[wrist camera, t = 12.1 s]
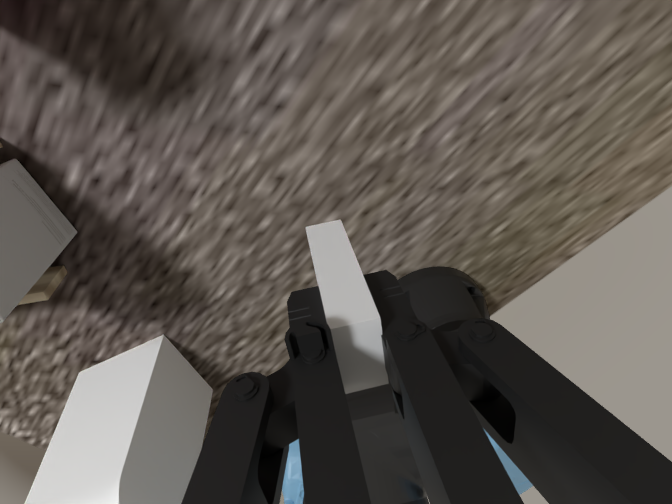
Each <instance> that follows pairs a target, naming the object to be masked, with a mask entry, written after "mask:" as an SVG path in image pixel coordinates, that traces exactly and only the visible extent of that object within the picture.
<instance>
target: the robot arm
mask: <svg viewBox="0 0 672 504" xmlns="http://www.w3.org/2000/svg"><path fill="white" fill-rule="evenodd" d="M306 232H307V236H308V241H309V246H310V250H311V255H312V260H313V264H314V269H315V273H316V278H317V283H318V286H316V287H312V288H307V289H303V290H298V291H294V292H292V293H291V295H290V297H289V299H288V301H287V305H288V315H289V325H290V328H289V330H288V331H287V332H286V335H285V343H286V346H287V350H288V353H289V356H290V359H289V361H288V362H287V363H286V365H284V366H283V367H282V368H281V369H280V370H278V371H276V372H275V373H273V374H271V375H269V376H267V377H266V376H264V375H262V374H261V373H256V372H249V373H244V374H241V375H239V376H237V377H235V378H234V379H233V380H231V381H230V382H229V383H228V384H227V386H226V387H225V389H224V391H223V393H222V395H221V398H220V401H219V403H218V406H217V409H216V411H215V414H214V417H213V420H212V422H211V425H210V428H209V430H208V433H207V436H206V438H205V441H204V444H203V446H202V449H201V452H200V455H199V457H198V460H197V463H196V465H195V468H194V471H193V473H192V476H191V479H190V481H189V484H188V487H187V489H186V492H185V495H184V498H183V500H182V503H181V504H279V502H280V497H281V491H282V492H283V496H284V504H429V502H430V504H524V503H523V501H522V499H521V497H520V496H519V495H520V494H522V493H523V492H525V491H526V490H528V489H529V488H531V487H532V486H534V487H535V488H536V489H537V490H538V491H539V492H540V494H541V495H542V496H543V497H544V498H545V499H546V501H547V502H548V503H549V504H672V462H671V461H670V460H668V459H667V458H666V457H665V456H664V455H662V454H661V453H660V452H659V451H657V450H656V449H655V448H654V447H652V446H651V445H650V444H649V443H647V442H646V441H645V440H644V439H642V438H641V437H640V436H638V435H637V434H636V433H635V432H634V431H632V430H631V429H630V428H629V427H627V426H626V425H625V424H624V423H622V422H621V421H620V420H619V419H617V418H616V417H615V416H614V415H613V414H611V413H610V412H609V411H608V410H606V409H605V408H604V407H603V406H601V405H600V404H599V403H597V402H596V401H595V400H594V399H593V398H591V397H590V396H589V395H587V394H586V393H585V392H584V391H583V390H581V389H580V388H579V387H578V386H576V385H575V384H574V383H573V382H571V381H570V380H569V379H568V378H566V377H565V376H564V375H563V374H561V373H560V372H559V371H558V370H556V369H555V368H554V367H553V366H551V365H550V364H549V363H548V362H546V361H545V360H544V359H543V358H541V357H540V356H539V355H538V354H536V353H535V352H534V351H533V350H531V349H530V348H529V347H528V346H526V345H525V344H524V343H523V342H521V341H520V340H519V339H518V338H516V337H515V336H514V335H513V334H512V333H510V332H509V331H508V330H507V329H505V328H504V327H503V326H502V325H500V324H498V323H497V322H495V321H493V320H490V316H489V312H488V308H487V304H486V300H485V298H484V295H483V293H482V292H481V290H480V289H479V288H478V286H477V285H476V284H475V283H474V281H473V280H472V279H471V278H470V277H469V276H468V275H466V274H465V273H463V272H461V271H459V270H457V269H453V268H449V267H429V268H424V269H420V270H417V271H414V272H412V273H410V274H408V275H406V276H404V277H402V278H401V279H399V280H397V279H396V277H395V276H394V275H393V274H391V273H390V272H388V271H387V270H384V271H379V272H375V273H370V274H366V275H363V274H362V271H361V269H360V266H359V264H358V261H357V259H356V256H355V254H354V251H353V249H352V246H351V244H350V242H349V239H348V237H347V234H346V232H345V229H344V227H343V224H342V222H341V219H340V220H336V221H331V222H326V223H322V224H317V225H312V226H308V227H306ZM427 496H428V499H429V502H428V499H427Z"/></svg>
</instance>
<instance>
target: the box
mask: <svg viewBox="0 0 672 504" xmlns="http://www.w3.org/2000/svg"><path fill="white" fill-rule="evenodd" d="M2 147H3V146H2V144H1V142H0V148H2ZM67 273H68V272H67V270H66V269H65V267H64V265H61V266H55V267H49V268H48V269H47V270H46V271H45V272H44V273H43V275H42V276H41V277H40V278H39V279H38V281H37V282H36V283H35V284H34V285H33V287H32V288H31V289H30V290H29V291H28V293H27V294H26V295H25V296H24V297H23V299H22V300H21V301H20V302H19V303H18V305H21V304H27V303H33V302H39V301H45V300H48V299H49V298H50V297H51V295H52V294H53V292H54V291H55V290H56V288H57V287H58V286H59V284H60V283H61V281H62V280H63V279H64V277H65V276H66V274H67Z"/></svg>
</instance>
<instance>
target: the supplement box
mask: <svg viewBox="0 0 672 504" xmlns="http://www.w3.org/2000/svg"><path fill="white" fill-rule="evenodd" d="M76 234H77V231H76V229H75V228H74V227H73V226H72V225H71V223H70V222H69V221H68V220H67V219H66V217H65V216H64V215H63V214H62V213H61V211H60V210H59V209H58V208H57V207H56V205H55V204H54V203H53V202H52V201H51V199H50V198H49V197H48V196H47V195H46V194H45V192H44V191H43V190H42V189H41V187H40V186H39V185H38V184H37V183H36V181H35V180H34V179H33V178H32V177H31V175H30V174H29V173H28V172H27V171H26V169H25V168H24V167H23V166H22V165H21V164H20V162H19V161H18V160H17V159H12V160H10V161H7V162H5V163H2V164H0V323H2V322H3V321H4V320H5V319H6V318H7V316H8V315H9V314H10V313H11V312H12V310H13V309H14V308H15V307H16V306H17V305H18V303H19V302H20V301H21V300H22V299H23V297H24V296H25V295H26V294H27V293H28V291H29V290H30V289H31V288H32V287H33V285H34V284H35V283H36V282H37V281H38V279H39V278H40V277H41V276H42V275H43V273H44V272H45V271H46V270H47V269H48V268H49V266H50V265H51V264H52V263H53V262H54V260H55V259H56V258H57V257H58V256H59V254H60V253H61V252H62V251H63V250H64V248H65V247H66V246H67V245H68V244H69V242H70V241H71V240H72V239H73V238H74V236H75V235H76Z"/></svg>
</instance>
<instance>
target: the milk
mask: <svg viewBox="0 0 672 504" xmlns="http://www.w3.org/2000/svg"><path fill="white" fill-rule="evenodd" d="M212 393H213V389H212V388H211V387H210V386H209V385H208V384H207V383H206V381H205V380H204V379H203V378H202V377H201V376H200V375H199V374H198V372H197V371H196V370H195V369H194V368H193V367H192V366H191V365H190V363H189V362H188V361H187V360H186V359H185V358H184V357H183V356H182V354H181V353H180V352H179V351H178V350H177V349H176V348H175V347H174V346H173V344H172V343H171V342H170V341H169V340H168V339H167V338H166V337H165V335H162V336H160V337H157V338H155V339H153V340H151V341H148V342H146V343H144V344H142V345H139V346H137V347H135V348H133V349H130V350H128V351H126V352H124V353H121V354H119V355H117V356H115V357H113V358H110V359H108V360H106V361H104V362H101V363H99V364H97V365H95V366H92V367H90V368H88V369H86V370H83V371H81V372H79V374H78V377H77V379H76V382H75V384H74V386H73V389H72V391H71V394H70V396H69V398H68V401H67V403H66V406H65V408H64V410H63V413H62V415H61V418H60V420H59V422H58V425H57V427H56V430H55V432H54V434H53V437H52V439H51V442H50V444H49V446H48V449H47V451H46V454H45V456H44V458H43V461H42V463H41V466H40V468H39V470H38V473H37V475H36V478H35V480H34V483H33V485H32V487H31V490H30V492H29V495H28V497H27V499H26V502H25V504H181V503H182V500H183V498H184V495H185V492H186V489H187V487H188V484H189V481H190V479H191V476H192V473H193V471H194V468H195V465H196V463H197V460H198V457H199V455H200V452H201V449H202V445H203V439H204V434H205V429H206V424H207V419H208V414H209V408H210V403H211V398H212Z"/></svg>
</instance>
